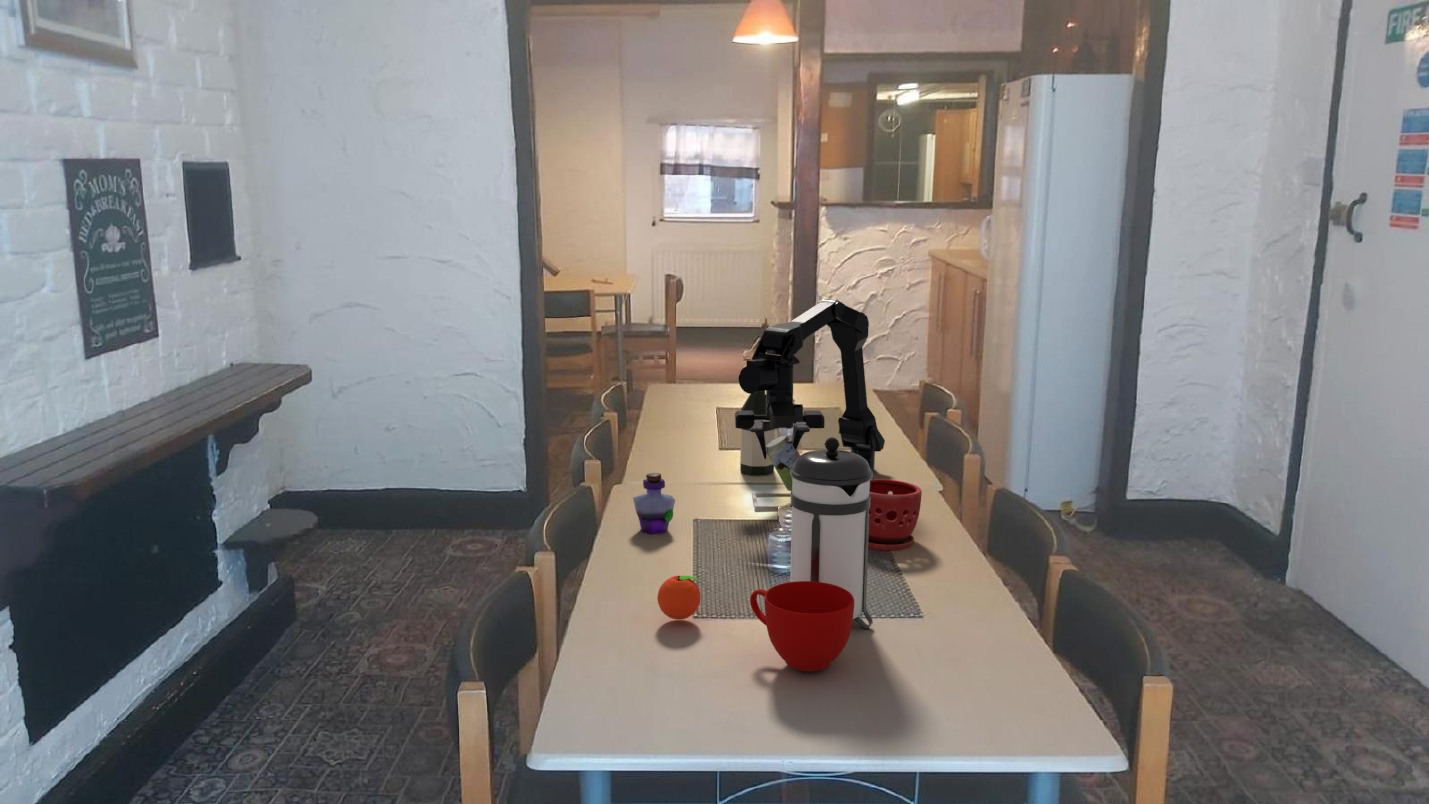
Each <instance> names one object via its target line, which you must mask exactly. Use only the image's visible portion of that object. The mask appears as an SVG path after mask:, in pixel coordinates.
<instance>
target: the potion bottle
mask: <svg viewBox="0 0 1429 804" xmlns="http://www.w3.org/2000/svg"><path fill="white" fill-rule="evenodd" d="M645 477H646V478H645V479H643V481H642V487H643V489H646V493H643V494H642V493H641V494H640V495H637V496H635V497H634V496H633V497H632V502H633V505H634V509H635V513H636V515H637V517H638V521H639V526H640V530H641V532H642V534H643V533H644V534H649V535H658V534H663V533H666V532H667V531H668V528H669V525H670V522H671V521H672V520H673V517H674V507H675V504H676V499H675V498H674V496H673V495H671V494H666V493H665V494H664V493H662V490H663V489H665V488H666V487H665V486H666V482H665V480H664V478H662V474H661V473H659V472H651V473H647V474H646V475H645Z"/></svg>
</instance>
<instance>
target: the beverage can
mask: <svg viewBox="0 0 1429 804" xmlns="http://www.w3.org/2000/svg"><path fill="white" fill-rule="evenodd" d="M766 447H767V455H768V456H769V458H770V460H771V462H772V464H773V465H774V470H776V473H777V474H778V476H779V478H780V479H781V481H782V483H783V485H784V486H785V488H786V491H789V492H791V490H792V477H791V475H790V468H791V467H792V466H793V465H794V463H795V461H796V459H797V458H798V457H799V456H801V454H800V453H799V452H800V451H799V450H798V449H797V450H795V448H794V447H793V441H792V438H790V437H788V436H787V435H786V434H784V435H783V434H782V435H779V436H777V437H774V439H773V440H772V441H770V442H769V443H768V444H767V445H766Z"/></svg>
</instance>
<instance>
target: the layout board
mask: <svg viewBox="0 0 1429 804" xmlns="http://www.w3.org/2000/svg"><path fill="white" fill-rule="evenodd" d="M892 494H893V493H892V492H890V493H889V492H888V495H892ZM757 497H758V498H759V497H760V498H761V497H791V492H759V493H758V492H752V493H751V498H752V503H753V508H754V512H760V511H762V512H763V511H767V512H768V511H769V512H771V511H777V510H778V507H779V506H780V505H758V499H757Z"/></svg>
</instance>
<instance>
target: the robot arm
mask: <svg viewBox="0 0 1429 804" xmlns="http://www.w3.org/2000/svg"><path fill="white" fill-rule="evenodd" d="M869 325H870V323H869V318H868V315H866V314H865V313H864V312H863V311H859V310H857V309H854V308H853V307H849V306H848V305H846V304H845V303H843V302H842V301H840V300H839V299H826V298H825V299H820V300H819V301H818V302H817V304H815V305H814V306H812V307H811V308H809V309H808V310H806V311H805V312H803V313H802V314H800V315H798V316H797V317H795V318H793V319H792V320H790V321H789V322H782V323H777V324H773V325H770V326H768V327H766V329H764V331H763V333H762V336H760V339H759V342H758V344H757V345H756V346H757V347H756V348H755V351H754V353H753V354H752V356H751V359H747V360H746V366H744V367H743V368H741V370H740V372H739V374H738V384H739V386H740V388H741V389H742V391H743V392H744V393H746V394H749V395H750V394H753V393H757V392H762V391H765V394H766V415H754V412H753V411H741V410H736V411H735V412H734V426H735V428H736V429H740V430H741V429H750V432H755V434H756V436H757V438H758V440H759V443H760V446H761V449H762V453H763V456H764V459H766V445H765V437H764V429H763V424H770V427H771V428H773V429H775V430H777V429H787V430H790V429H792V436H791V437H792V438H791V440H792V441H793V447H794V448H795V450H798V446H799V444H800V442H801V439H802V437H803V436H804V435H805V434H806V433H810V431H811V429H825V415H824V414H823V412H821V411H820V410H818V409H817V410H808V409H807V410H804V405H803V404H802V403H799V404H798V403H797V404H796V403H795V404H794V373H795V372H794V368H795V365H799V364H800V362H801V361H800V359H799V358H797V357H796V354H797V353H798V352H799V351H800V350H801V349H802V348H803V347H804V341H805V340H806V339H807V338H808V337H810V336H812V335H813V334H815V333H816V332H818V331H819V330H821V329H822V328H823V327H825V326H827V327H829V328H830V333H831V337H832V340H833V342H834V343H835V344H836V346H837V347H838V349H839V351H840V358H841V360H840V361H841V366H842V367H841V369H842V380H843V381H842V382H843V388H844V389H843V391H844V403H845V410H844V412H843V414H842V416H840V417H838V420H837V423H838V434H840V438H841V444H842V447H845V448H850V452H852V453H855V454H858V455H860V456H861V457H863V458H864V459H865V460H866V461H867V462H868V464H869V467H870V469H871V470H872V471H873V472H874V471H875V466H876V465H875V461H876V460H875V459H876V458H875V457H876V453H877V452H882V450H883V449H884V446H885V444H886V443H885V438H884V437H883V435H882V434H881V432H880V431H879V429H878V425H877V421H876V420H877V419H876V417H875V415H874V413H873V412H872V411H871V409H870V408H869V405H868V399H867V387H866V376H865V375H866V373H865V363H864V352H863V351H864V350H863V347H864V346H865V344H866V342H867V339H868V338H869V327H870V326H869ZM752 359H753V360H752Z"/></svg>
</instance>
